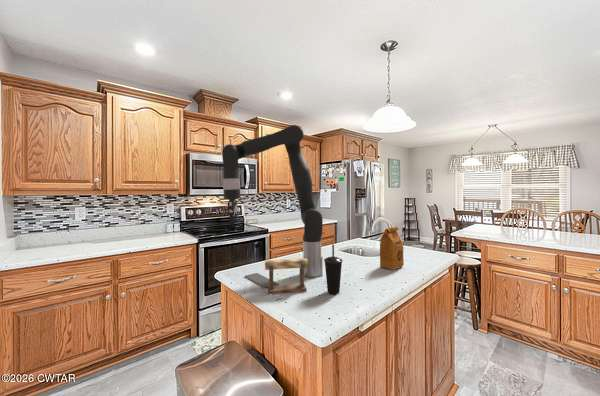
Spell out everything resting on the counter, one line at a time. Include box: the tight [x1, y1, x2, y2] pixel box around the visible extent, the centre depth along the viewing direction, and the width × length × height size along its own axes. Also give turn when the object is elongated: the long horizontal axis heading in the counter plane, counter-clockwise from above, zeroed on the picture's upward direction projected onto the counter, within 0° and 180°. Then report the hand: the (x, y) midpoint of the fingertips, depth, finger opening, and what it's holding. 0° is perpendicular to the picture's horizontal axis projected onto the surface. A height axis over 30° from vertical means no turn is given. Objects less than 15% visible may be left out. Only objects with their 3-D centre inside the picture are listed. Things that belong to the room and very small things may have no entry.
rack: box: [267, 263, 307, 296], centre depth 107 cm, size 16×6×12 cm, turn 99°
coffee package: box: [379, 226, 404, 270], centre depth 138 cm, size 10×12×22 cm
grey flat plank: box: [244, 272, 280, 289], centre depth 120 cm, size 20×7×1 cm, turn 39°
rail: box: [264, 258, 308, 271], centre depth 107 cm, size 18×3×3 cm, turn 99°
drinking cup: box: [323, 244, 344, 296], centre depth 105 cm, size 8×8×20 cm
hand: (233, 223), depth 118 cm, fingers open, 8 cm apart
